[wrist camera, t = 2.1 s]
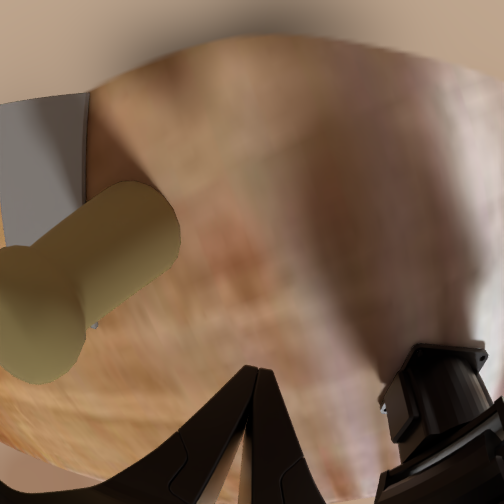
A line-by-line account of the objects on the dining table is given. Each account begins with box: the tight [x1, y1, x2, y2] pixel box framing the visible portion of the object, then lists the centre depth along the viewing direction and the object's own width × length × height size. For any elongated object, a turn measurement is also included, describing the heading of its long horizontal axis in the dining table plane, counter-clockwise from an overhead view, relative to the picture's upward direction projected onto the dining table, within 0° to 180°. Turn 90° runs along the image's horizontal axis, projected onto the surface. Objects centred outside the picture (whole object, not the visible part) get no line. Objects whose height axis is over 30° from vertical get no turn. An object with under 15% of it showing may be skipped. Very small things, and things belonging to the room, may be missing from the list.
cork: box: [0, 181, 181, 385], centre depth 13 cm, size 6×6×11 cm
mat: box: [0, 93, 98, 329], centre depth 18 cm, size 9×16×1 cm, turn 173°
